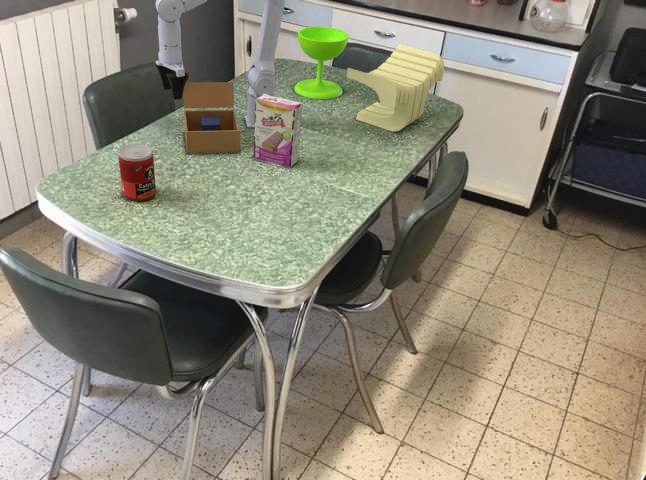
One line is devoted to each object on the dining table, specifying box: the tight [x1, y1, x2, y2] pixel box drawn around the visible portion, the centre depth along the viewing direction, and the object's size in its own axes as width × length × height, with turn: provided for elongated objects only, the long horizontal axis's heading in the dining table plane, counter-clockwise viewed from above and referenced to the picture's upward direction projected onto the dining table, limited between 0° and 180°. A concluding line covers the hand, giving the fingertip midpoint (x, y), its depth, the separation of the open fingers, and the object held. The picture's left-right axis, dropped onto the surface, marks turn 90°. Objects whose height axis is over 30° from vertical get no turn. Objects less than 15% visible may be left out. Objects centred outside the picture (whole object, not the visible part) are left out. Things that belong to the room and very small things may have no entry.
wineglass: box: [293, 26, 350, 100], centre depth 205 cm, size 16×16×18 cm
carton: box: [183, 109, 241, 154], centre depth 173 cm, size 14×14×6 cm
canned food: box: [117, 143, 157, 202], centre depth 148 cm, size 8×8×11 cm
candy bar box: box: [253, 94, 303, 168], centre depth 164 cm, size 11×5×16 cm, turn 65°
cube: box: [201, 117, 221, 131], centre depth 175 cm, size 5×5×5 cm
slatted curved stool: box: [346, 43, 445, 133], centre depth 188 cm, size 30×16×18 cm, turn 144°
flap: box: [182, 81, 235, 109], centre depth 175 cm, size 7×14×1 cm
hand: (172, 93), depth 175 cm, fingers open, 7 cm apart
